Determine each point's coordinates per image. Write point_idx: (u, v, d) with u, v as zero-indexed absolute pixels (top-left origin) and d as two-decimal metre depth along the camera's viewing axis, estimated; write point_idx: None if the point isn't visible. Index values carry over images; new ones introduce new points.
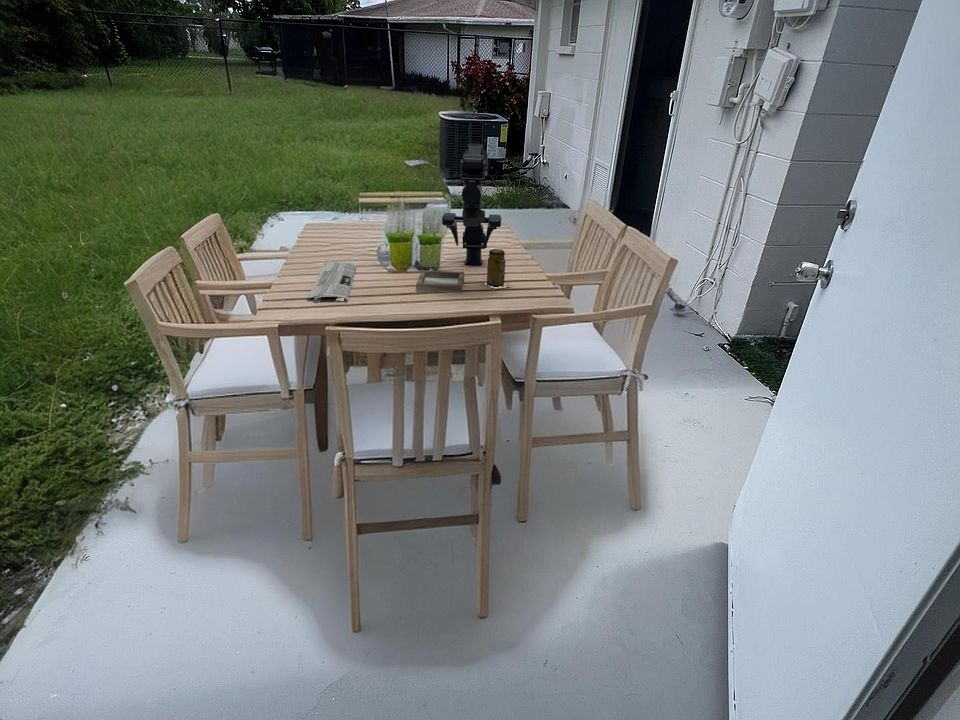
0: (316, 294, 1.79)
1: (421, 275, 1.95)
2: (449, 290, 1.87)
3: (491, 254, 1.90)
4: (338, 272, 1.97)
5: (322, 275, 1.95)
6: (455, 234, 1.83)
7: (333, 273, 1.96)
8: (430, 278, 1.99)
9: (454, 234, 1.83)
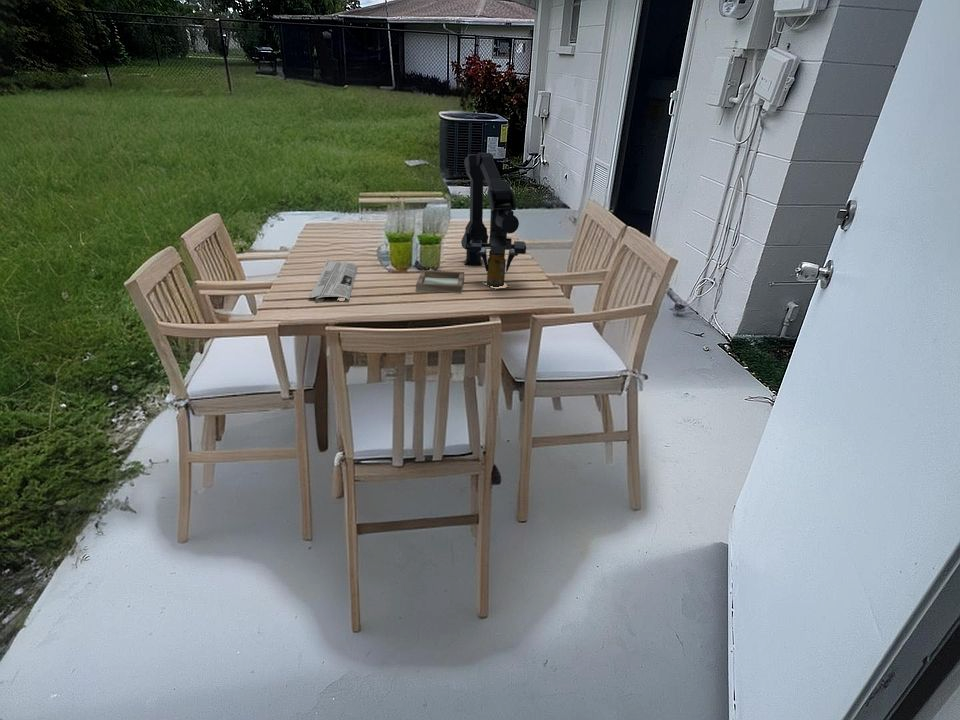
0: (317, 294, 1.79)
1: (421, 275, 1.95)
2: (449, 290, 1.87)
3: (491, 254, 1.90)
4: (339, 272, 1.97)
5: (323, 275, 1.95)
6: (485, 260, 1.91)
7: (334, 273, 1.96)
8: (430, 278, 1.99)
9: (484, 260, 1.91)
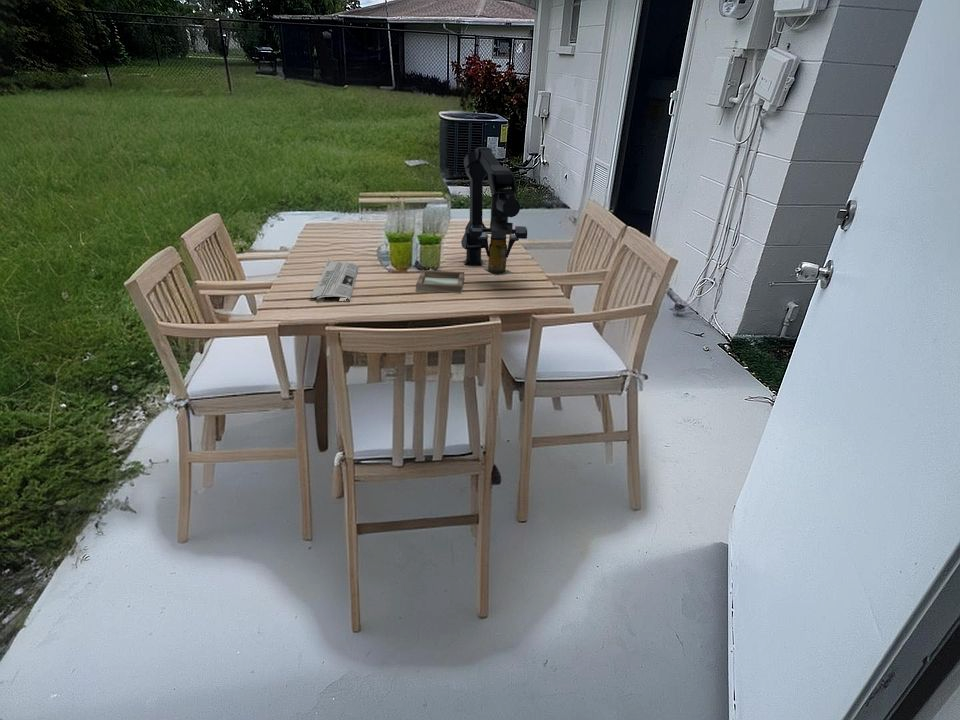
0: (319, 294, 1.79)
1: (421, 275, 1.95)
2: (449, 290, 1.87)
3: (492, 239, 1.88)
4: (340, 272, 1.97)
5: (325, 275, 1.95)
6: (486, 245, 1.88)
7: (335, 273, 1.96)
8: (430, 278, 1.99)
9: (485, 245, 1.88)
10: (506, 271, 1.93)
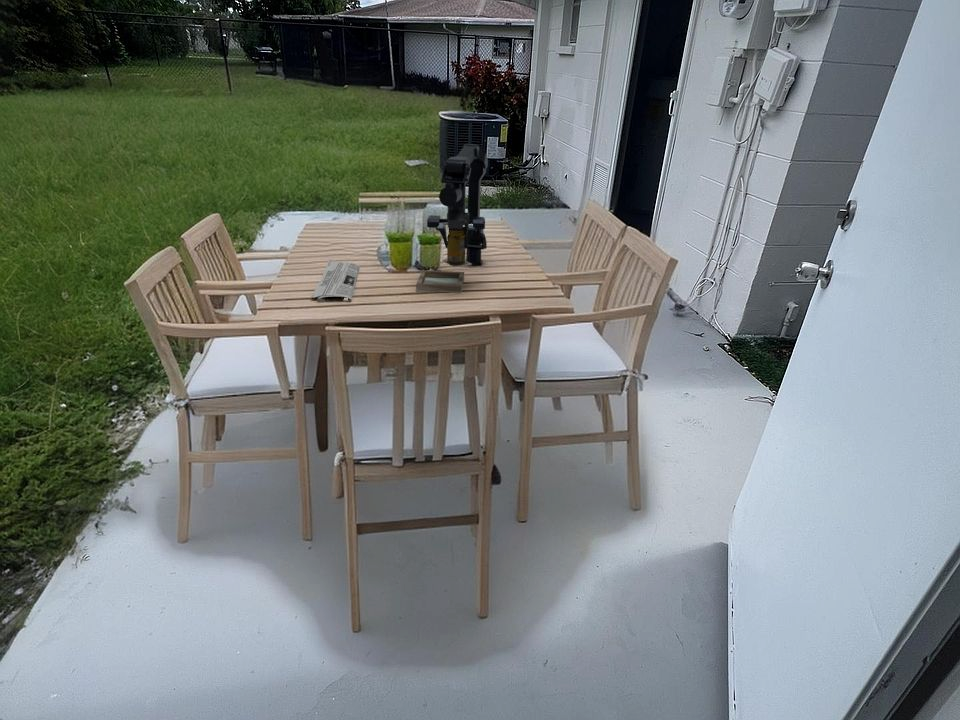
0: (320, 294, 1.79)
1: (421, 275, 1.95)
2: (449, 290, 1.87)
3: (450, 230, 1.85)
4: (342, 272, 1.97)
5: (326, 275, 1.95)
6: (444, 236, 1.86)
7: (337, 273, 1.96)
8: (430, 278, 1.99)
9: (443, 236, 1.86)
10: (465, 262, 1.91)
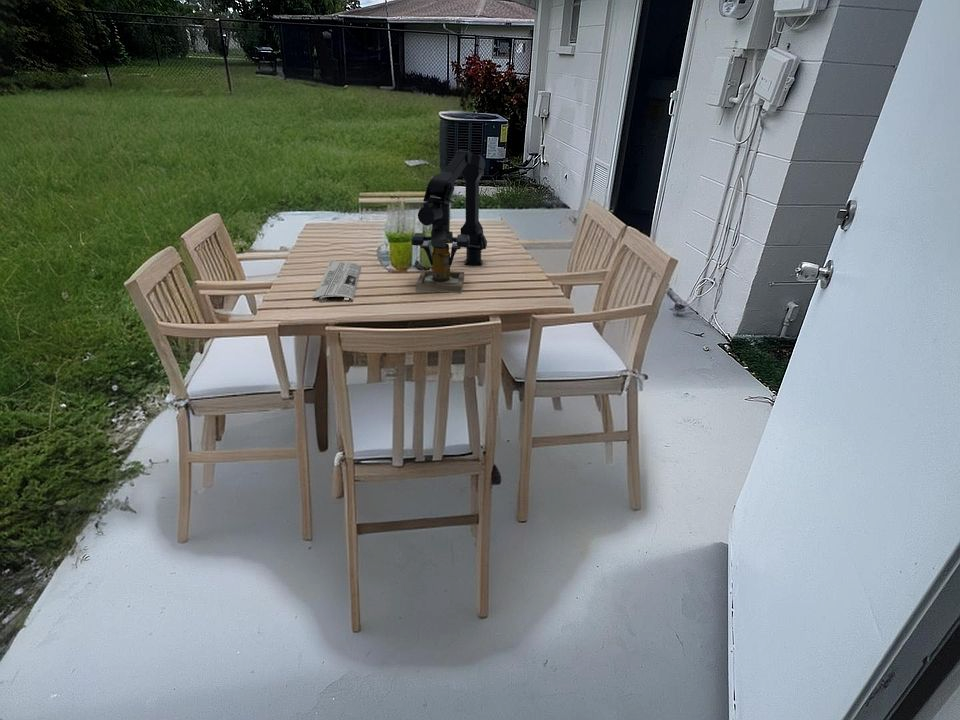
0: (321, 294, 1.79)
1: (421, 275, 1.95)
2: (449, 290, 1.87)
3: (435, 247, 1.88)
4: (343, 272, 1.97)
5: (327, 275, 1.95)
6: (429, 254, 1.88)
7: (338, 273, 1.96)
8: None
9: (428, 254, 1.88)
10: (450, 279, 1.93)
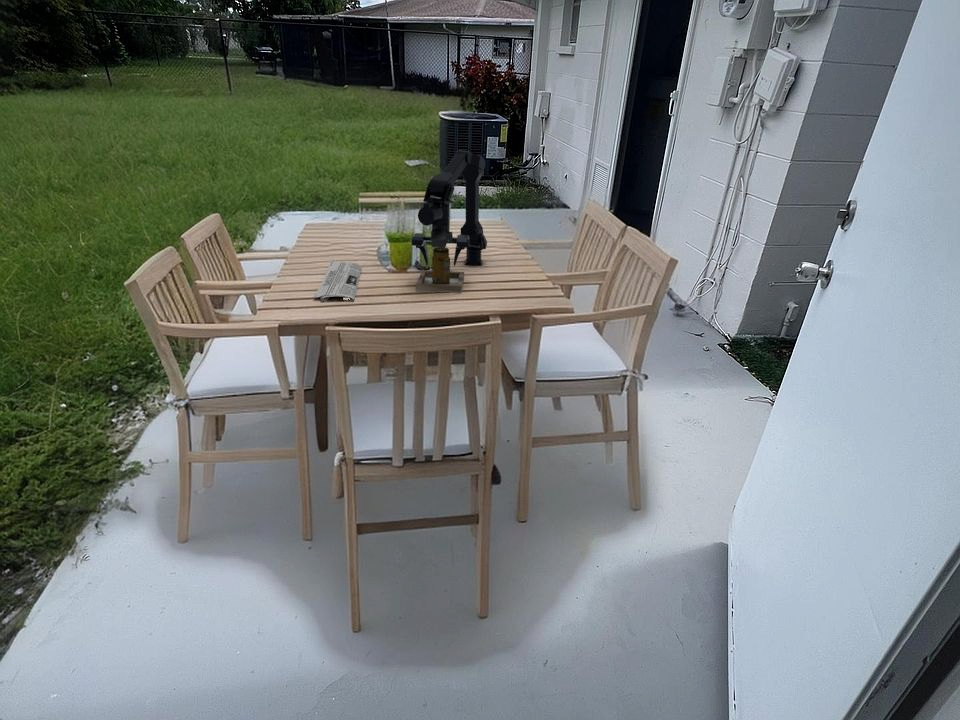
0: (323, 294, 1.79)
1: (421, 275, 1.95)
2: (449, 290, 1.87)
3: (435, 252, 1.88)
4: (344, 272, 1.97)
5: (328, 275, 1.95)
6: (425, 254, 1.88)
7: (339, 273, 1.96)
8: (430, 278, 1.99)
9: (424, 254, 1.88)
10: (450, 283, 1.94)
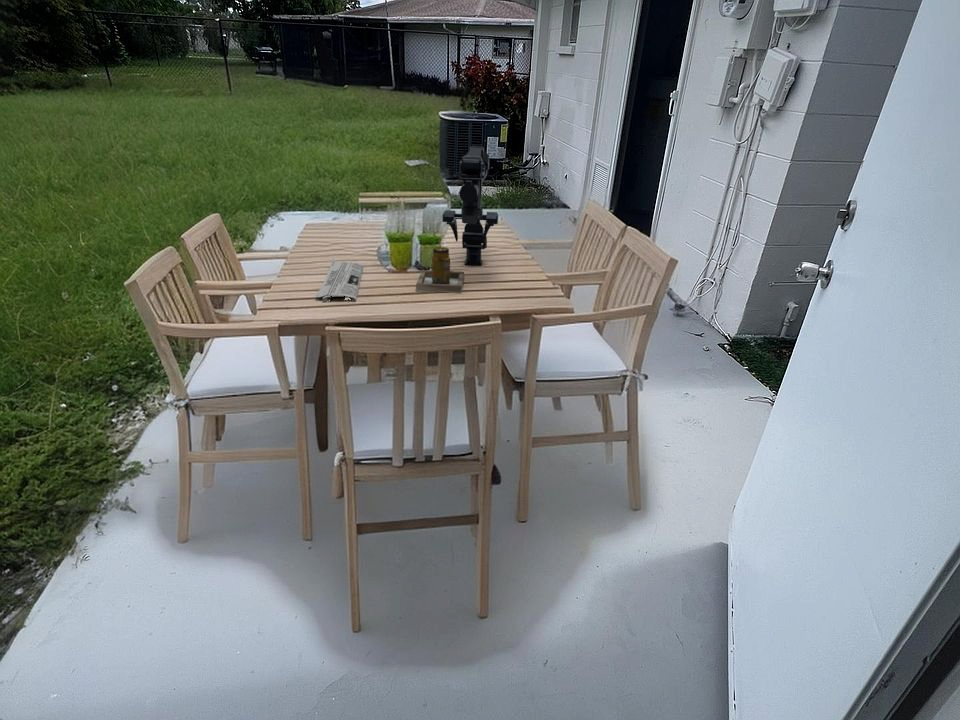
0: (324, 294, 1.79)
1: (421, 275, 1.95)
2: (449, 290, 1.87)
3: (435, 252, 1.88)
4: (346, 272, 1.97)
5: (330, 275, 1.95)
6: (455, 230, 1.94)
7: (341, 273, 1.96)
8: (430, 278, 1.99)
9: (454, 230, 1.94)
10: (450, 283, 1.94)
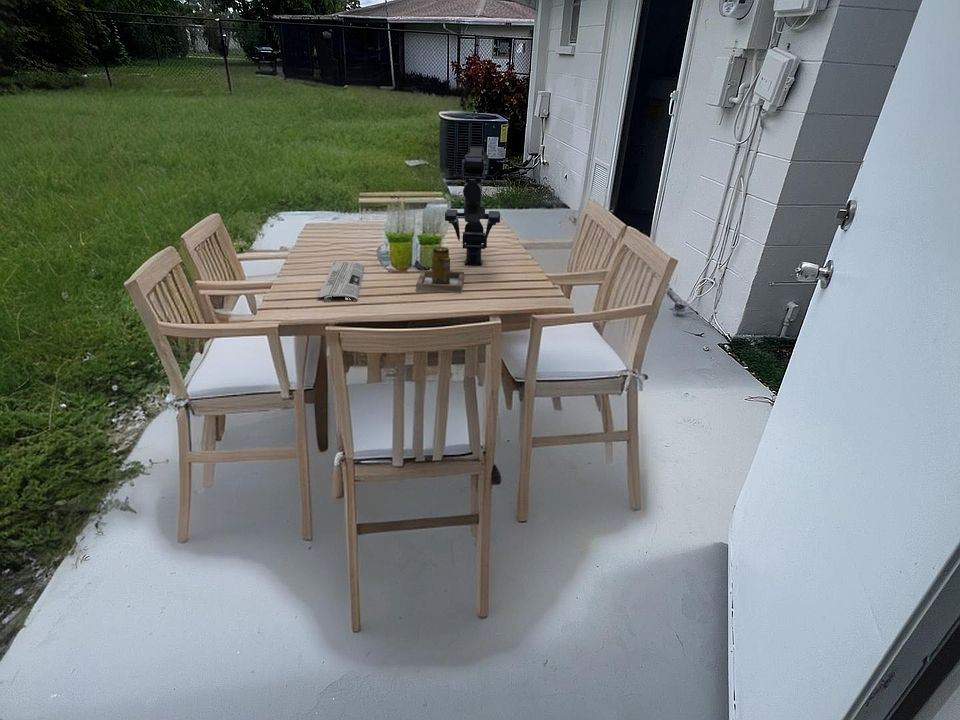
0: (326, 293, 1.79)
1: (421, 275, 1.95)
2: (449, 290, 1.87)
3: (435, 252, 1.88)
4: (347, 272, 1.97)
5: (331, 275, 1.96)
6: (457, 229, 1.94)
7: (342, 273, 1.96)
8: (430, 278, 1.99)
9: (456, 229, 1.94)
10: (450, 283, 1.94)
